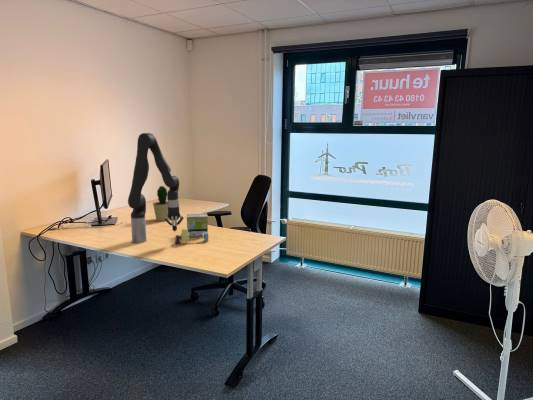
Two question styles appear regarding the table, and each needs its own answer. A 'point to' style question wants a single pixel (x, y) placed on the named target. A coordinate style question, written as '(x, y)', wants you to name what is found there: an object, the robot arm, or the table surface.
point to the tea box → (197, 224)
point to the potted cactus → (161, 204)
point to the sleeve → (185, 235)
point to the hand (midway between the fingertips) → (174, 230)
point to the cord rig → (203, 235)
